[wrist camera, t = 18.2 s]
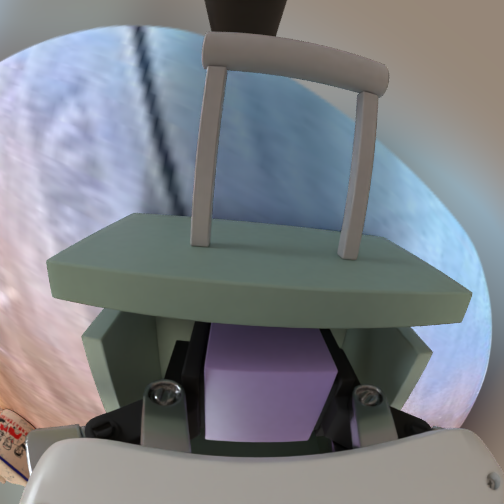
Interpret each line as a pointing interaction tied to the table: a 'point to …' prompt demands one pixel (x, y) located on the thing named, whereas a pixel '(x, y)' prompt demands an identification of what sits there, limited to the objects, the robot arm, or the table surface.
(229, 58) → the drawer
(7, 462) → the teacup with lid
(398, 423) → the robot arm
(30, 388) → the table surface
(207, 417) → the purple cube
